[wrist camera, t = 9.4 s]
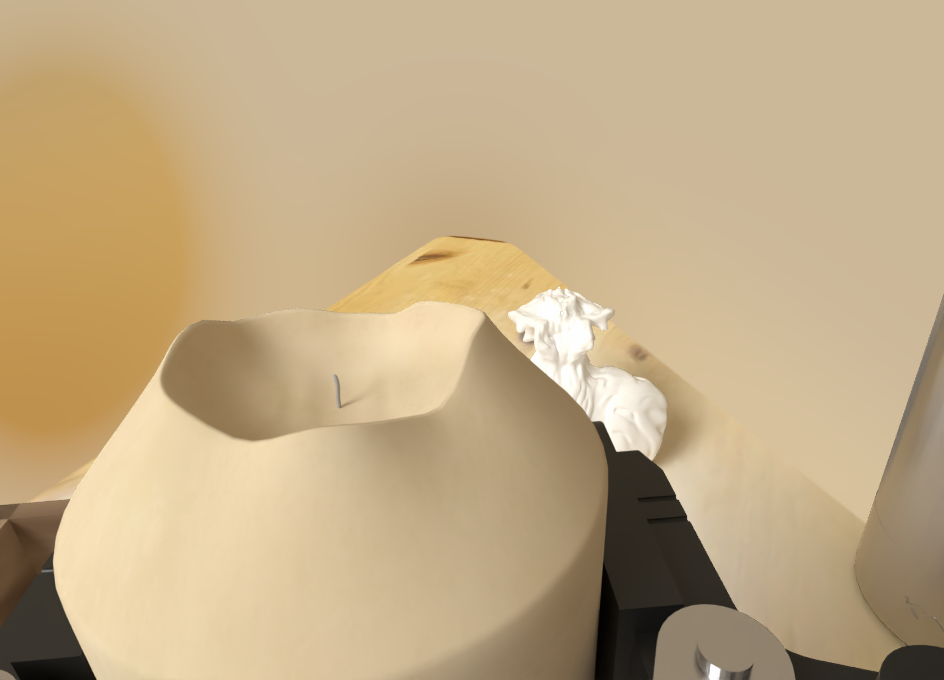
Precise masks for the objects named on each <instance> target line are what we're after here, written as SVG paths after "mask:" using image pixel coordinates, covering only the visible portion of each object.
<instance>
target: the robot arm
mask: <svg viewBox="0 0 944 680" xmlns="http://www.w3.org/2000/svg"><path fill="white" fill-rule="evenodd" d="M592 423H593V424H594V426H595V428H596V430H597V432H598V434H599V437H600V439H601V441H602V444H603V446H604V451H605V455H606V460H607V465H608V500H607V515H606V529H605V542H604V556H603V570H602V583H601V597H600V610H599V624H598V637H597V651H596V664H595V678H594V680H944V295H943V298H942V301H941V304H940V307H939V310H938V313H937V316H936V319H935V322H934V325H933V328H932V331H931V334H930V337H929V340H928V343H927V346H926V349H925V352H924V355H923V358H922V361H921V364H920V367H919V370H918V373H917V375H916V378H915V381H914V384H913V387H912V391H911V394H910V397H909V399H908V402H907V406H906V409H905V411H904V414H903V417H902V420H901V423H900V426H899V429H898V432H897V435H896V438H895V441H894V444H893V447H892V450H891V453H890V456H889V459H888V462H887V465H886V468H885V471H884V474H883V477H882V480H881V483H880V486H879V489H878V491H877V493H876V496H875V500H874V502H873V505H872V508H871V511H870V514H869V517H868V521H867V524H866V527H865V530H864V533H863V536H862V539H861V542H860V545H859V548H858V551H857V554H856V560H855V565H854V567H855V573H856V579H857V583H858V585H859V587H860V589H861V592H862V594H863V596H864V598H865V600H866V601H867V603H868V604H869V606H870V607H871V608H872V610H873V611H874V613H875V614H876V615H877V617H878V618H879V619H880V620H881V621H882V622H883V623H884V624H885V625H886V626H887V627H888V628H889V629H890V630H891V631H892V632H893V633H894V634H895V635H896V636H897V637H898V638H899V639H901V640H902V641H903V642H904V643H906V644H907V645H908V646H905V647H901V648H899V649H897V650H894V651H893V652H892V653H890V654H889V655H888V656H887V657H886V659H885V660H884V662H883V663H882V666H881V668H880V671H879V672H875V671H870V670H865V669H860V668H855V667H850V666H845V665H840V664H835V663H830V662H825V661H820V660H816V659H812V658H808V657H804V656H801V655H799V654H796V653H793V652H791V651H788V650H786V649H784V647H783V645H782V644H781V643H780V642H779V640H778V639H777V638H776V637H775V636H774V635H773V634H772V633H771V632H770V631H769V630H768V629H767V628H766V627H764V626H763V625H762V624H760V623H759V622H758V621H756V620H755V619H753V618H751V617H749V616H748V615H746V614H744V613H741V612H739V611H738V610H737V608H736V607H735V605H734V603H733V602H732V600H731V598H730V596H729V594H728V592H727V590H726V588H725V587H724V585H723V583H722V581H721V579H720V577H719V575H718V573H717V571H716V570H715V568H714V566H713V564H712V562H711V560H710V558H709V556H708V555H707V553H706V551H705V549H704V547H703V545H702V543H701V541H700V539H699V538H698V536H697V534H696V532H695V530H694V528H693V526H692V524H691V522H690V521H688V520H687V515H686V513H685V511H684V509H683V507H682V505H681V504H680V502H679V500H677V499H676V494H675V492H674V490H673V488H672V487H671V485H670V483H669V481H668V479H667V477H666V475H665V473H664V472H663V470H662V469H661V468H660V467H658V466H657V465H656V464H655V463H654V462H652V461H651V460H650V459H649V458H648V457H646V456H645V455H644V454H643V453H641V452H640V451H639V450H632V451H619V452H616V450H615V447H614V445H613V443H612V441H611V438H610V436H609V434H608V432H607V429H606V427H605V425H604V423H603V422H602V421H593V422H592ZM53 558H54V551H53V552H52V554H51V555H50V557H49V558H48V559H47V561H46V562H45V564H44V565H43V567H42V568H41V569H42V573H41V574H38V575H36V577H35V578H34V580H33V581H32V583H31V584H30V586H29V587H28V588H27V590H26V591H25V593H24V594H23V596H22V597H21V599H20V600H19V601H18V603H17V604H16V606H15V607H14V609H13V610H12V612H11V613H10V615H9V616H8V617H7V619H6V620H5V622H4V623H3V625H2V626H1V628H0V680H97V679H96V677H95V675H94V673H93V671H92V669H91V667H90V665H89V662H88V660H87V658H86V656H85V654H84V652H83V650H82V648H81V646H80V644H79V641H78V639H77V637H76V635H75V633H74V631H73V629H72V626H71V624H70V622H69V620H68V618H67V616H66V613H65V611H64V608H63V605H62V603H61V600H60V598H59V595H58V592H57V590H56V584H55V576H54V567H53Z"/></svg>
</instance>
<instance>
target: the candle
mask: <svg viewBox="0 0 944 680" xmlns="http://www.w3.org/2000/svg"><path fill="white" fill-rule="evenodd" d="M607 500H608V465H607V460H606V455H605V451H604V446H603V444H602V441H601V439H600V437H599V434H598V432H597V430H596V428H595V426H594V424H593V423H592V421H591V420H590V418H589V417H588V415H587V414H586V412H585V411H584V409H583V408H582V407H581V406H580V405H579V404H578V403H577V402H576V401H575V400H574V399H573V398H572V397H571V396H570V395H569V394H568V393H567V392H566V391H565V390H564V389H563V388H562V387H561V386H559V385H558V384H557V383H556V382H555V381H554V380H553V379H551V378H550V377H549V376H548V375H547V374H546V373H544V372H543V371H542V370H541V369H540V368H539V367H538V366H536V365H535V364H534V363H533V362H532V361H531V360H530V359H528V358H527V357H526V356H525V355H524V354H523V353H522V352H520V351H519V350H518V349H517V348H516V347H515V346H514V345H513V344H512V343H511V342H510V341H509V340H508V339H507V338H506V337H505V336H504V335H503V334H502V333H501V332H500V331H499V329H498V328H497V327H496V326H495V325H494V323H493V322H492V321H491V320H490V319H489V317H488V316H487V315H486V314H485V313H484V312H482V311H480V310H478V309H476V308H472V307H468V306H464V305H459V304H453V303H447V302H438V301H423V302H417V303H415V304H413V305H411V306H409V307H408V308H406V309H404V310H402V311H400V312H398V313H339V312H332V311H325V310H317V309H307V308H303V309H288V310H281V311H275V312H269V313H264V314H260V315H257V316H253V317H250V318H246V319H241V320H237V321H233V322H232V321H212V320H202V321H199V322H197V323H194V324H192V325H189V326H188V327H186V328H185V329H184V330H183V331H182V332H181V333H180V334H179V335H178V336H177V337H176V338H175V340H174V341H173V343H172V344H171V346H170V347H169V349H168V351H167V353H166V355H165V357H164V359H163V361H162V363H161V364H160V366H159V368H158V370H157V372H156V373H155V375H154V376H153V378H152V379H151V381H150V382H149V384H148V385H147V387H146V388H145V390H144V391H143V393H142V394H141V396H140V397H139V399H138V400H137V401H136V403H135V404H134V406H133V407H132V409H131V410H130V412H129V413H128V414H127V416H126V417H125V419H124V420H123V422H122V423H121V424H120V426H119V427H118V429H117V430H116V431H115V433H114V434H113V436H112V437H111V438H110V440H109V441H108V443H107V444H106V445H105V447H104V448H103V450H102V451H101V453H100V454H99V455H98V457H97V458H96V460H95V461H94V463H93V464H92V466H91V467H90V469H89V470H88V471H87V473H86V474H85V476H84V477H83V479H82V480H81V482H80V483H79V485H78V487H77V488H76V490H75V492H74V494H73V496H72V498H71V500H70V501H69V503H68V505H67V507H66V509H65V511H64V514H63V517H62V520H61V523H60V526H59V529H58V532H57V535H56V541H55V549H54V558H53V567H54V576H55V584H56V590H57V592H58V595H59V598H60V600H61V603H62V605H63V608H64V611H65V613H66V616H67V618H68V620H69V622H70V624H71V626H72V629H73V631H74V633H75V635H76V637H77V639H78V641H79V644H80V646H81V648H82V650H83V652H84V654H85V656H86V658H87V660H88V662H89V665H90V667H91V669H92V671H93V673H94V675H95V677H96V679H97V680H594V678H595V664H596V651H597V637H598V624H599V610H600V597H601V583H602V570H603V556H604V542H605V529H606V515H607Z"/></svg>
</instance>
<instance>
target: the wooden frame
mask: <svg viewBox="0 0 944 680" xmlns="http://www.w3.org/2000/svg"><path fill="white" fill-rule="evenodd" d="M70 500H71V499H68V500H56V501H44V502H33V503H22V504H10V505H0V628H1V626H2V625H3V623H4V622H5V620H6V619H7V617H8V616H9V615H10V613H11V612H12V610H13V609H14V607H15V606H16V604H17V603H18V601H19V600H20V599H21V597H22V596H23V594H24V593H25V591H26V590H27V588H28V587H29V586H30V584H31V583H32V581H33V580H34V578H35V577H36V575H38V574H41V573H42V569H41V568H42V567H43V565H44V564H45V562H46V561H47V559H48V558H49V557H50V555H51V554H52V552H53V551H54V549H55V541H56V535H57V532H58V529H59V526H60V523H61V520H62V517H63V514H64V511H65V509H66V507H67V505H68V503H69V501H70Z"/></svg>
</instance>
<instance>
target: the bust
mask: <svg viewBox="0 0 944 680" xmlns="http://www.w3.org/2000/svg"><path fill="white" fill-rule="evenodd" d="M614 314H615V311H614V309H604V308H603V307H601V306H600V305H599V304H597V303H593V302H591V301H589V300H588V299H587V298H585V297H584V296H582V295H581V294H580V293H577V292H573V291H570V290H569V289H565V290H562V289H561V288H560V287H558V288H557V289H556V290H555V291H553V289H549V290H548V291H546V292H542V293H540V294H538V295H537V296H536V297H535V298H534V299H533V300H532V301H531V302H529V303H528V304H526V305H522V306H521V307H520V308H519V309H518V310H516V311H510V312H509V313H508V316H509V318H510V319H511V320H512V321H513V322H514V323H515V324H517V331H518V332H519V333H522V332H524V330H525V329H526V331H525V336H524V338H523V341H524V342H529V341H533V340H534V345H535V349H536V352H535V354H534V355H533V357H532V358H531V359H530V360H531V361H532V362H533V363H534V364H535V365H536V366H538V367H539V368H540V369H541V370H542V371H543V372H544V373H546V374H547V375H548V376H549V377H550V378H551V379H553V380H554V381H555V382H556V383H557V384H558V385H559V386H561V387H562V388H563V389H564V390H565V391H566V392H567V393H568V394H569V395H570V396H571V397H572V398H573V399H574V400H575V401H576V402H577V403H578V404H579V405H580V406H581V407H582V408H583V409H584V411H585V412H586V414H587V415H588V417H589V418H590V420H591V421H592V422H593V421H602V422H603V423H604V425H605V427H606V429H607V432H608V434H609V436H610V438H611V441H612V443H613V445H614V447H615V450H616V452H619V451H632V450H639V451H640V452H641V453H643V454H644V455H645V456H646V457H648V458H649V459H650V460H651V461H653V459H654V458H655V456H656V454H657V453H658V451H659V449H660V447H661V444H662V441H663V435H664V431H665V428H666V425H667V412H666V410H667V407H668V402H667V399H666V397H665V396H664V394H663V393H662V392H661V391H660V390H659V389H658V388H657V387H656V386H655V385H654V384H653V383H652V382H650V381H649V380H647V379H645V378H641V377H637V376H633V375H631V374H630V373H628V372H627V371H625V370H623V369H619V368H617V367H613V366H606V367H601V368H598V367H595V366H593V365H591V364H590V363H589V361H590V360H589V358H588V356H587V355H586V353H587V352H588V351H589V350H591V349H592V348H593V345H594V340H595V336H594V334H593V331H592V326H597V327H598V328H599V329H600V330H602V331H606V330H607V329H608V325H607V321H608V320H610V319H611V318H612V317H613V316H614Z"/></svg>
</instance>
